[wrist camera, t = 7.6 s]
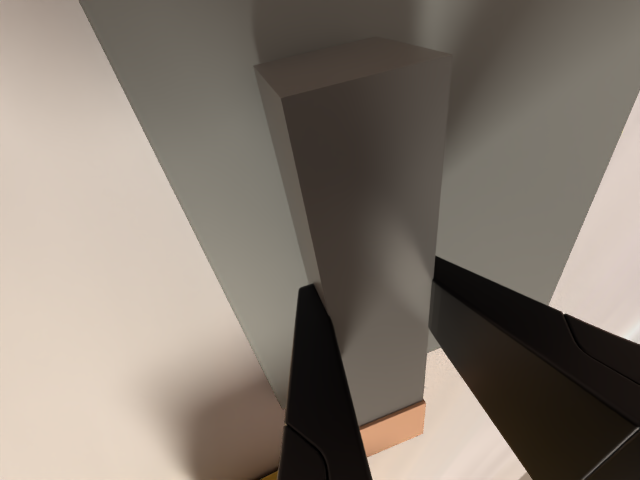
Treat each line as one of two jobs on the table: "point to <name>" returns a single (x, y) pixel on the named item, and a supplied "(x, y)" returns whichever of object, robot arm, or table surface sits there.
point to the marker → (367, 208)
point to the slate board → (460, 144)
